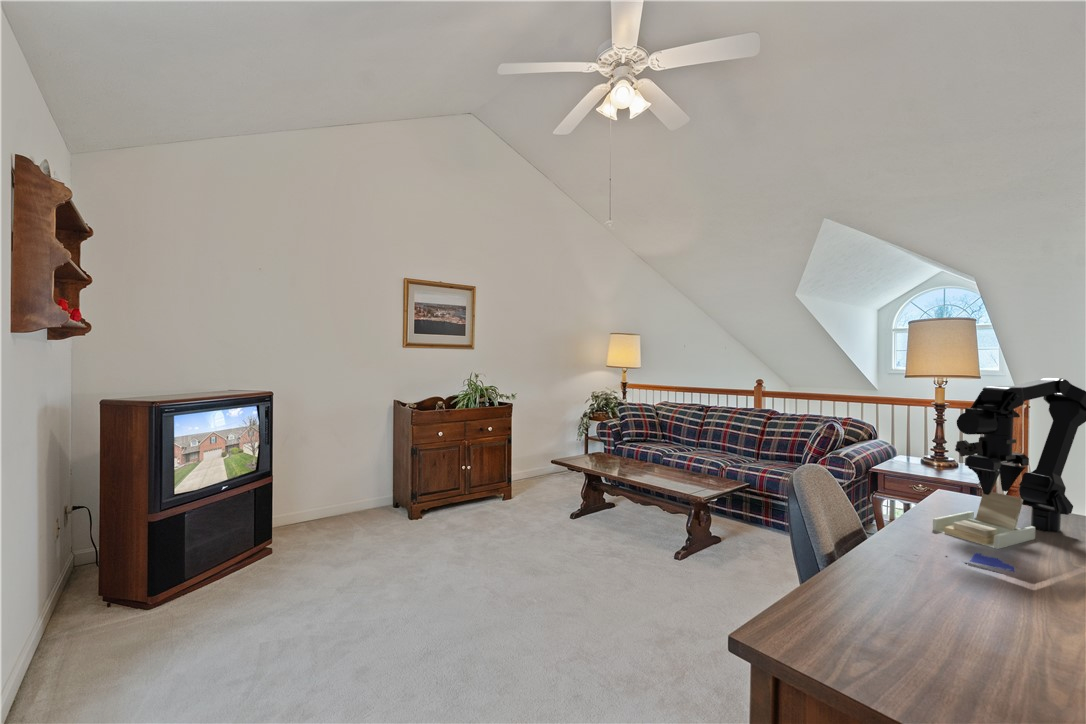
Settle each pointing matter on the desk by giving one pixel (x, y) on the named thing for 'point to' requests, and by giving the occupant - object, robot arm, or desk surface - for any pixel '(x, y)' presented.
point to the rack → (1003, 534)
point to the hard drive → (989, 563)
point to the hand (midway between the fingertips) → (995, 492)
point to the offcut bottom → (969, 535)
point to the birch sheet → (999, 510)
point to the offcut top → (975, 528)
